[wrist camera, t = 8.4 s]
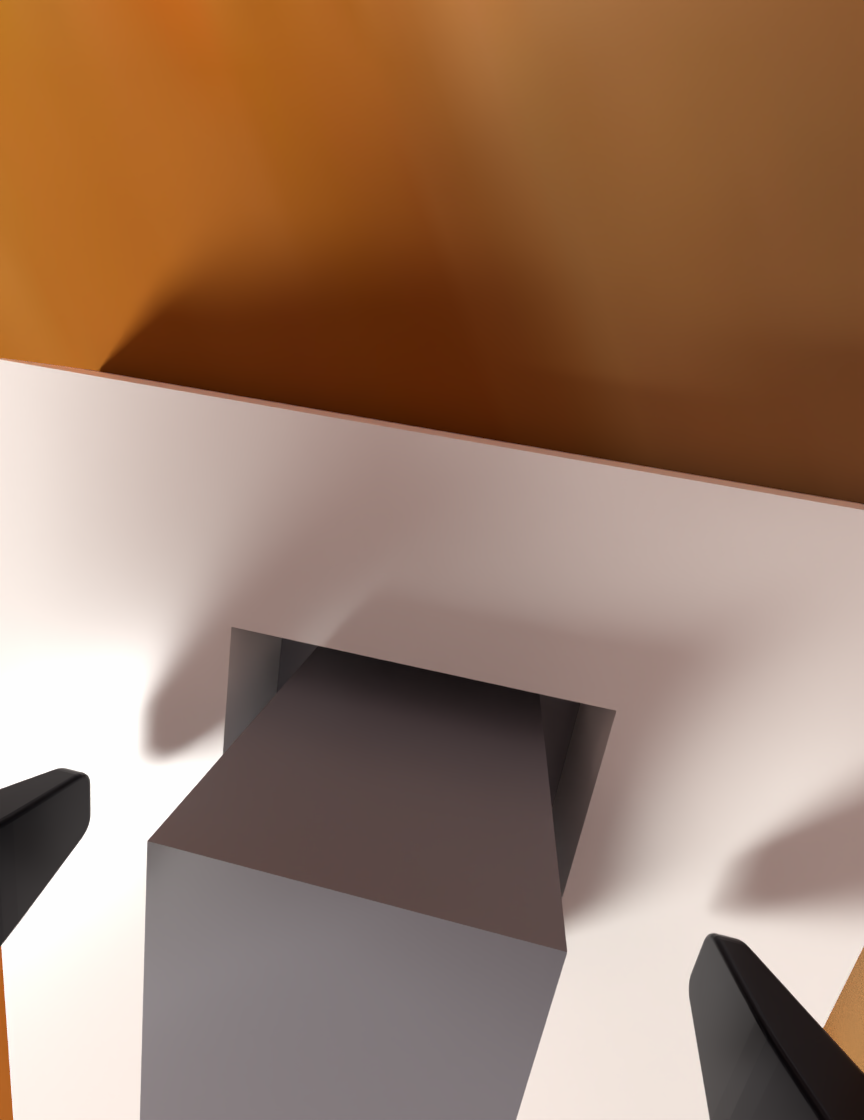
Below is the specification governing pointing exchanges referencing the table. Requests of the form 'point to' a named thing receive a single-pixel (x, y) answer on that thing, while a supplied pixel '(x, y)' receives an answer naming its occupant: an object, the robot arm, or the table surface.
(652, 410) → the table surface
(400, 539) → the socket plate
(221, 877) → the block
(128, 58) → the table surface
